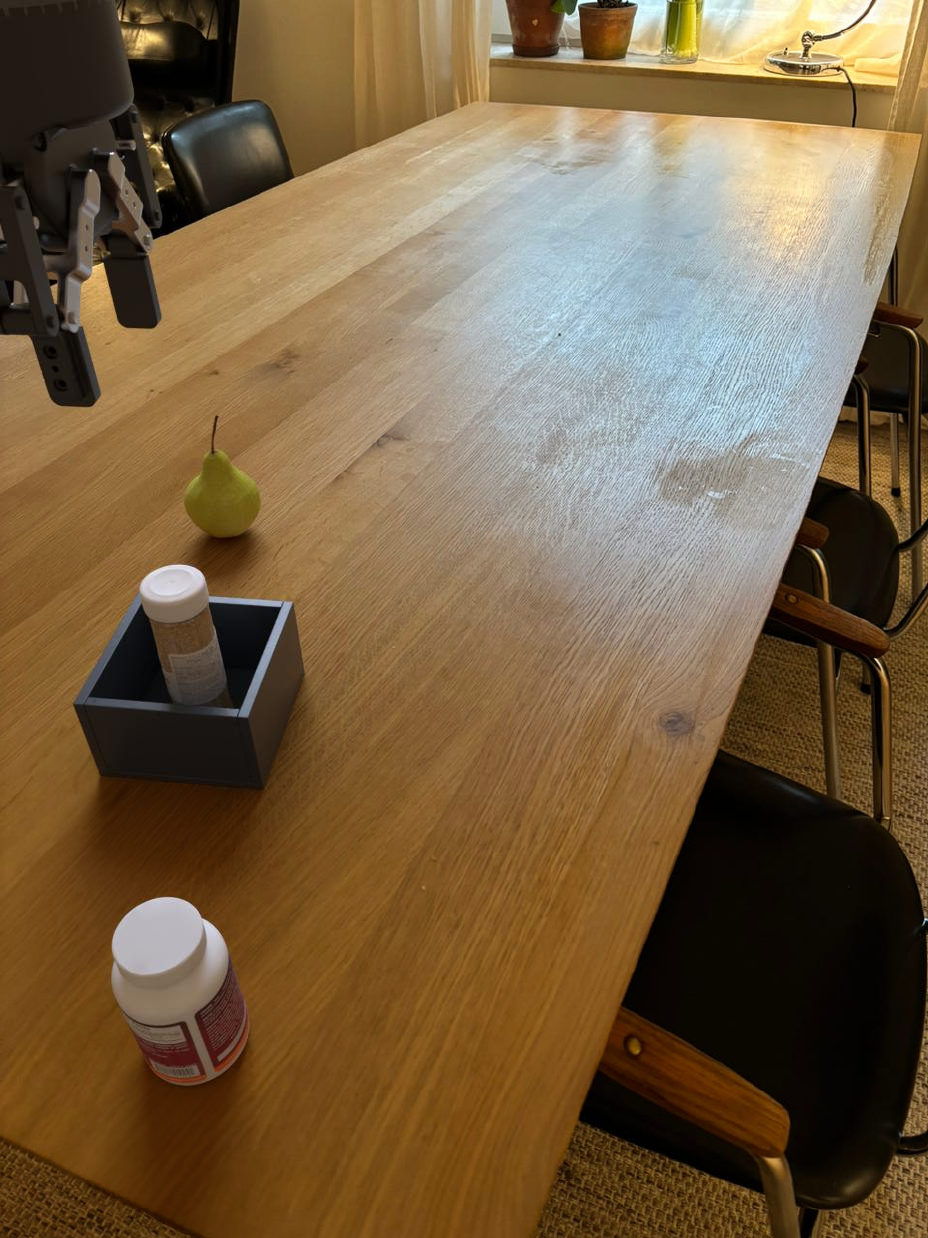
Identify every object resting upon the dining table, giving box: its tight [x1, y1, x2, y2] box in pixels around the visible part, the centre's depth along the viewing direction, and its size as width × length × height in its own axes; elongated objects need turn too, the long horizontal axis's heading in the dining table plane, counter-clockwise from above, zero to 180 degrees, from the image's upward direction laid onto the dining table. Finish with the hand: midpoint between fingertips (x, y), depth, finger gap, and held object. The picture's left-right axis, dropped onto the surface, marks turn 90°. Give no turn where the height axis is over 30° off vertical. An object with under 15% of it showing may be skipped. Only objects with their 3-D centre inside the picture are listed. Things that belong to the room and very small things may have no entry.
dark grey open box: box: [72, 591, 305, 790], centre depth 76 cm, size 13×13×8 cm
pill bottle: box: [110, 896, 250, 1086], centre depth 55 cm, size 6×6×11 cm
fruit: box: [183, 415, 262, 538], centre depth 94 cm, size 7×7×12 cm
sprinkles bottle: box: [138, 564, 234, 709], centre depth 73 cm, size 5×5×13 cm
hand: (111, 362), depth 50 cm, fingers open, 8 cm apart
